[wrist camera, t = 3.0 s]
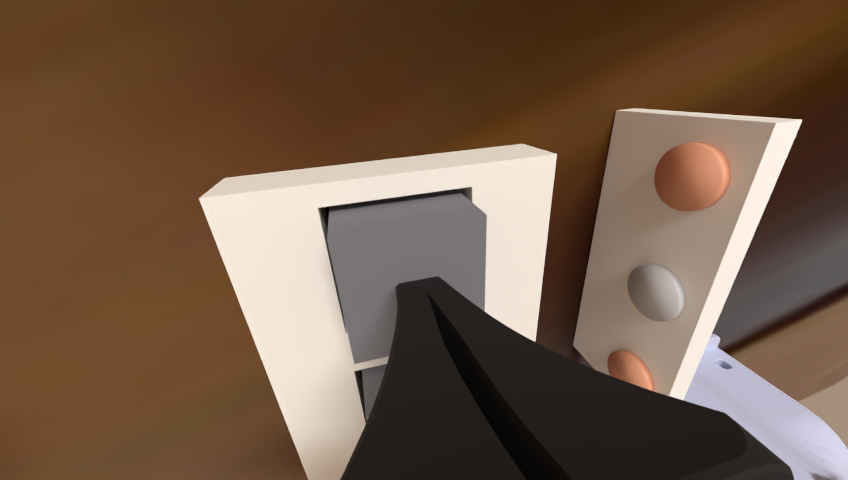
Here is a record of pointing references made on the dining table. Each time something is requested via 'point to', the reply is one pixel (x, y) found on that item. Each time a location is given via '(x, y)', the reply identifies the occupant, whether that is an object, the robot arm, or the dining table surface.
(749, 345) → the dining table surface
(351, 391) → the button board
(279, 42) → the dining table surface
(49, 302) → the dining table surface
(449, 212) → the button mug side
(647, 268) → the card
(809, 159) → the dining table surface
